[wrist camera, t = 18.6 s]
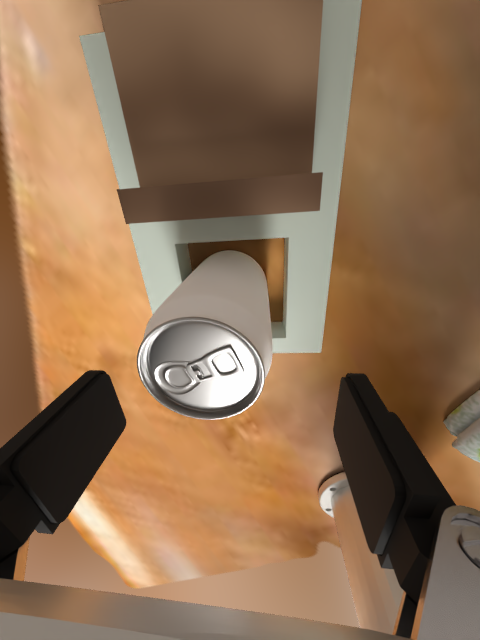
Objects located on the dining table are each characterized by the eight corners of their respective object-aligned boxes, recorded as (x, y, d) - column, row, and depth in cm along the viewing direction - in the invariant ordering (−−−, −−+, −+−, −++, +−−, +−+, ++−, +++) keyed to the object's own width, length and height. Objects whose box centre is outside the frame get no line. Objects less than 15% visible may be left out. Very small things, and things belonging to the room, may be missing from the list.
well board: (313, 334, 22) (321, 352, 19) (174, 336, 24) (163, 354, 21) (342, 34, 13) (363, -9, 10) (112, 66, 14) (79, 36, 12)
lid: (306, 208, 14) (319, 210, 11) (154, 219, 15) (126, 224, 12) (319, -14, 10) (346, -111, 7) (111, 21, 11) (52, -51, 8)
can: (182, 267, 20) (95, 340, 9) (249, 235, 18) (235, 280, 8) (215, 327, 23) (176, 437, 12) (277, 303, 21) (296, 408, 10)
